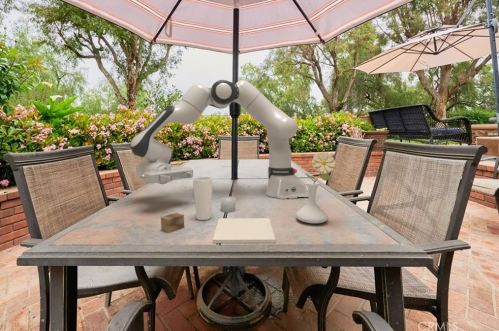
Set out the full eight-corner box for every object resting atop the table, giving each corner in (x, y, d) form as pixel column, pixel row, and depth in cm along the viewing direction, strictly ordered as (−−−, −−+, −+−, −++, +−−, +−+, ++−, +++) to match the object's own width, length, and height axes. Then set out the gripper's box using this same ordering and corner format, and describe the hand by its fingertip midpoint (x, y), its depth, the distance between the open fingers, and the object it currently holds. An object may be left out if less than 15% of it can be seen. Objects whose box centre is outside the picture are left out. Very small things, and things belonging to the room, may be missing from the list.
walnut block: (177, 225, 86) (176, 212, 86) (184, 228, 84) (183, 214, 83) (161, 230, 82) (160, 217, 81) (168, 233, 79) (167, 219, 79)
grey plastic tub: (235, 208, 106) (235, 196, 105) (235, 212, 100) (235, 200, 99) (221, 208, 106) (221, 196, 105) (220, 212, 100) (219, 200, 99)
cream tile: (269, 221, 90) (269, 218, 90) (275, 242, 72) (275, 239, 72) (219, 221, 90) (219, 218, 90) (212, 243, 72) (212, 239, 72)
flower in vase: (292, 223, 87) (294, 152, 84) (298, 214, 98) (300, 150, 95) (332, 229, 83) (335, 153, 80) (333, 218, 94) (336, 150, 90)
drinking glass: (190, 218, 93) (189, 178, 91) (205, 214, 98) (204, 176, 96) (201, 223, 88) (200, 180, 86) (216, 218, 93) (216, 178, 91)
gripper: (137, 168, 99) (156, 172, 90) (181, 164, 114) (201, 167, 106) (138, 184, 99) (157, 189, 91) (181, 177, 115) (201, 181, 107)
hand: (181, 177), depth 98 cm, fingers open, 8 cm apart
